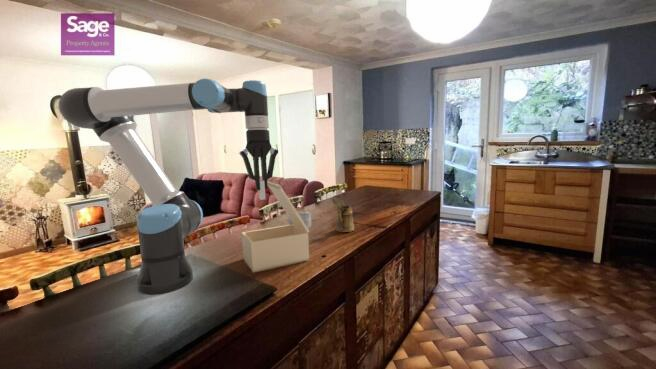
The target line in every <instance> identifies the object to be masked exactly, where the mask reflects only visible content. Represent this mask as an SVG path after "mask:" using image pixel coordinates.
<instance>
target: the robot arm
mask: <svg viewBox="0 0 656 369" xmlns="http://www.w3.org/2000/svg"><path fill="white" fill-rule="evenodd" d="M241 86H242V87H240V88H238V87H237V88H227V87H224V85H222V84H220V83H219V82H217V81H216V80H214V79H209V78H201V79H198V80H196V81H195V82H186V83H185V82H184V83H174V84H165V85H164V84H162V85H151V86H138V87H128V88H115V89H103V88H101V87H98V86H94V87H92V86H91V87H76V88H75V87H74V88H71V89H68V90H66V91H65V92H64V93H63V94H62V95H61V96H60V98H59V100H58V109H59V112H60V114H61V116H62V117H63V119H64V120H65V121H67V123H69V124H71V125H72V126H75V127H77V128H81V129H90V130H91V129H92V131H94V134H96V136H97V137H98V139H99V140H100V141H102V142H104V143H105V142H106V143H108V144H109V145H110V146H111V147H112V149H113V151H114V152H115V153H116V155H117V156H118V157H119V159H120V160H121V162H122V163H123V164H124V166H125V167H126V169H127V170H128V171H129V173H130V174H131V176H132V177H133V179H134V180H135V181H136V182H137V184H138V185H139V187H140V188H141V190H142V191H143V193H145V195H146V197H147V198H148V200H149V201H150V203H152V206H149V207H146V208H144V209H142V210H141V211H140V212H138V214H137V217H136V229H137V234H138V243H139V249H140V256H141V257H140V259H141V265H140V269H139V272H138V276H137V282H136V283H137V284H136V285H137V290H138V292H140V293H142V294H144V295H145V294H146V295H147V294H148V295H156V294H164V293H169V292H172V291H176V290H178V288H179V289H182V288H183V287H185V286H186V285H189V284H190V283H191V282H192V281H193V279H194V272H193V268H192V266H191V264H190V262H189V260H188V257H187V256H186V252H185V243H184V239H185V238H186V237H188V236H189V235H191V234H193V233H194V232H195V231H197V230H198V228H199V227H200V225H201V224H202V222H203V217H204V213H203V208H202V207H201V206H200V204H199V203H197V202H196V201H195V200H192V199H190V198H189V197H188V196H187V195H186V193H185V192H184V191H181V190H178V189H177V188H176V187H175V185H174V184H173V183H172V181H171V180H170V179H169V177H168V175H167V174H166V173H165V171H164V170H163V168H162V167H161V166H160V164H159V162H158V161H157V160H156V159H155V157H154V155H153V154H152V152H151V151H150V150H149V148H148V146H147V145H146V144H145V143H144V141H143V140H142V138H141V136H140V135H139V134H138V133H137V131H136V129H137V126H138V124H137V123H136V122H135V119H134V117H135V116H143V115H154V114H165V113H174V112H184V111H195V110H196V111H197V110H199V111H200V110H201V111H202V110H207V111H208V113H212V114H213V113H215V114H222V113H243V112H244V117H245V119H244V120H245V121H244V123H245V129H247V130H246V131H245V134H246V146H245V148H244V149H243V150H241V151H239V153H238V154H239V155H240V156H241V158H242V159H243V163H244V165H245V169H246V172H247V175H248V178H249V179H250V180H253V181H254V186H255V190H256V191H258V198H259V200H260V201H264V200H267V199H266V190H268V188H269V186H268V185H267V181H269V179H271V178H273V175H274V169H275V162H276V157H277V155H278V153H279V150H278V149H275V148H274V147H272V144H271V141H270V140H271V139H270V130H269V127H270V126H269V125H270V124H269V112H268V111H269V110H268V107H269V106H268V95H267V93H268V92H267V86H266V83H265V82H264V81H261V80H256V79H255V80H254V79H253V80H250V79H249V80H245V81H243V83H242V85H241ZM268 154H270V156H269V161H268V162H269V163H268V167H267V156H268ZM248 155H250V156H251V157H252V161H253V168H252V165H251V162H250V159H249V157H248ZM260 167H261V168H260ZM260 169H261V174H260ZM191 280H192V281H191ZM190 281H191V282H190ZM189 282H190V283H189Z"/></svg>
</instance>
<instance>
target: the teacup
mask: <svg viewBox="0 0 656 369" xmlns="http://www.w3.org/2000/svg"><path fill="white" fill-rule="evenodd" d="M298 214H299V215H300V217H301V218H302V220H303V221H304V223H305V224H306V226H307V228H308V229H309V230H310V228H311V226H312V217H311V215H312V213H310V212H309V211H305V212H303V211H302V212H301V211H300V212H298ZM287 218H288V225H292V224H293V222H292V221H291V219H290V218H289V216H288V215H287ZM297 227H298V226H297ZM302 230H303V229H302Z"/></svg>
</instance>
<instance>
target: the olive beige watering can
mask: <svg viewBox="0 0 656 369" xmlns="http://www.w3.org/2000/svg"><path fill="white" fill-rule="evenodd" d="M331 201H332V203H333V205H335V206H336V207H337V209H338V210H337V220H336V226H335V231H336V232H337V231H338V233H342V232H349V233H352V232H351V231H353V230H354V228H355V224H354V217H353V209H352V206H350V205H346V202H345V200H344V199H343V198H341V197H340V196H339V195H334V196H332V197H331ZM354 231H355V230H354ZM354 231H353V232H354Z"/></svg>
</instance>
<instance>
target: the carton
mask: <svg viewBox="0 0 656 369" xmlns="http://www.w3.org/2000/svg"><path fill="white" fill-rule="evenodd" d="M309 241H310V240H309V233H308V232H306V231H304V230H302V229H301V228H299V227H297V226H296V225H294V224H292V225H289V224H285V225H280V226H274V227H268V228H262V229H255V230H249V231H243V232H241V243H242V244H241V245H242V256H243V261H244V262H245V264H246V265H247V266H248V268H249V269H250V270H251V272H252V273H253V274H254V273H258V272H262V271H267V270H273V269H276V268H280V267H286V266H290V265H295V264H298V263H299V264H300V263H304V262H308V261H310V248H309V247H310V246H309V243H310V242H309Z"/></svg>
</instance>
